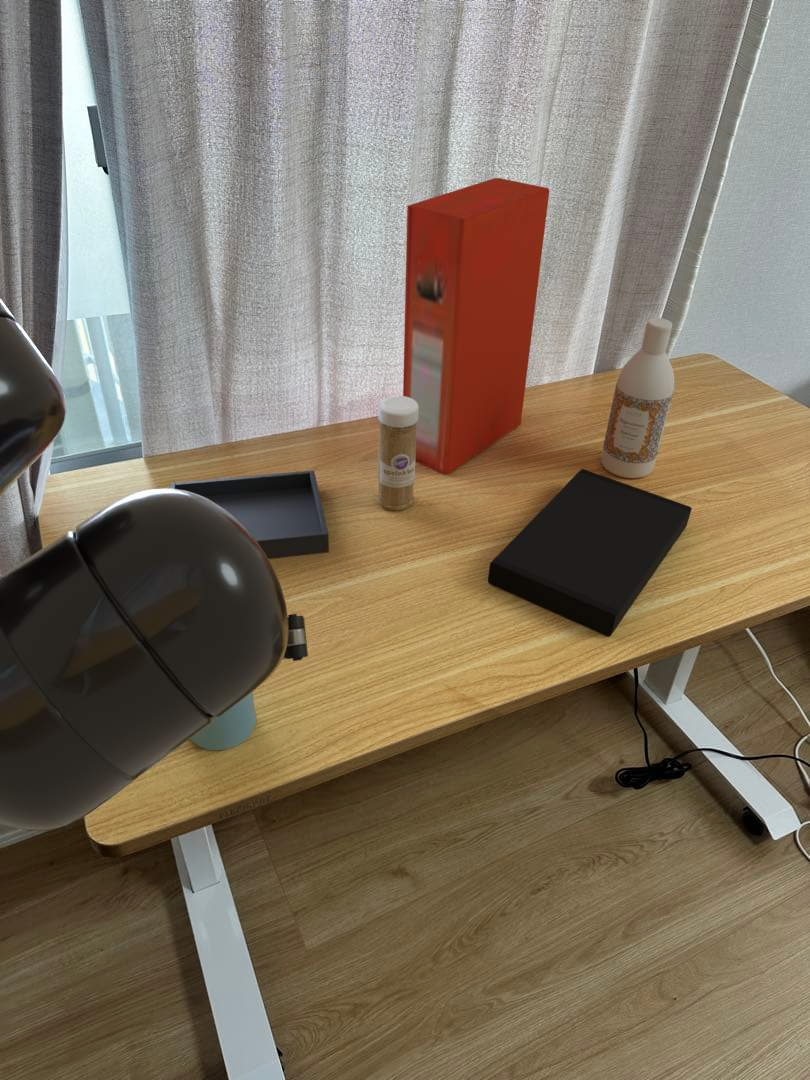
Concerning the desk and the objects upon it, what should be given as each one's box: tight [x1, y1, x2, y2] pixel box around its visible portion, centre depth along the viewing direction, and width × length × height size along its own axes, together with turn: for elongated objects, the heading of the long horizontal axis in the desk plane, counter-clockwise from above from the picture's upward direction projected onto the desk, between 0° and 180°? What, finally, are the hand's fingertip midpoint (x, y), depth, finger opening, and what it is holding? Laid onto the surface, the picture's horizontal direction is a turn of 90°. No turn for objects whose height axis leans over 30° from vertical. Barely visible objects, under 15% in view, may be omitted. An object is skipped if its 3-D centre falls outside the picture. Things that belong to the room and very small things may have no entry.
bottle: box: [189, 691, 257, 751], centre depth 66 cm, size 6×6×18 cm
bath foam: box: [600, 317, 675, 479], centre depth 101 cm, size 7×7×20 cm
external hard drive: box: [487, 468, 693, 638], centre depth 91 cm, size 14×23×3 cm, turn 146°
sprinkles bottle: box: [376, 395, 419, 511], centre depth 95 cm, size 5×5×13 cm
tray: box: [169, 470, 330, 559], centre depth 93 cm, size 17×13×3 cm
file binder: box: [402, 177, 550, 475], centre depth 101 cm, size 8×17×32 cm, turn 141°
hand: (199, 650), depth 56 cm, fingers open, 8 cm apart
